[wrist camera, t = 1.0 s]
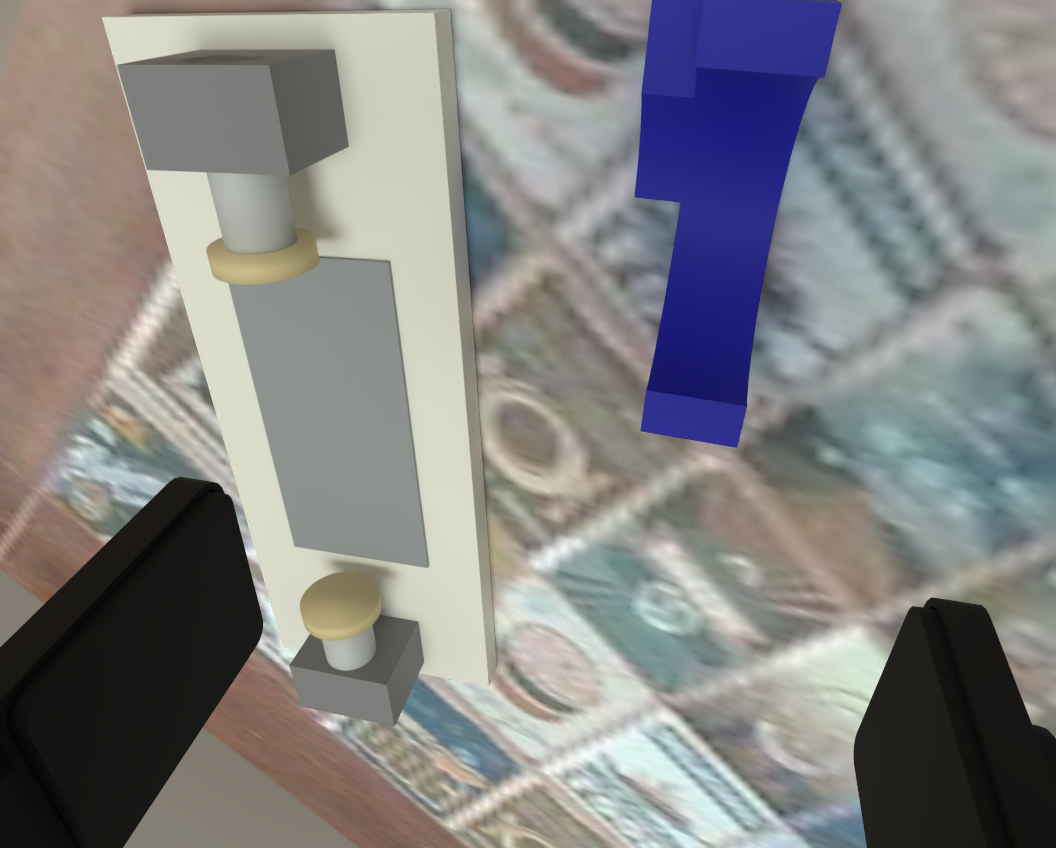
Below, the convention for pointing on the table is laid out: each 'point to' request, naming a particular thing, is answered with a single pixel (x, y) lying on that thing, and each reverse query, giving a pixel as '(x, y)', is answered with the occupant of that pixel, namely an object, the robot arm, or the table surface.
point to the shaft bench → (331, 324)
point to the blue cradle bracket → (720, 187)
